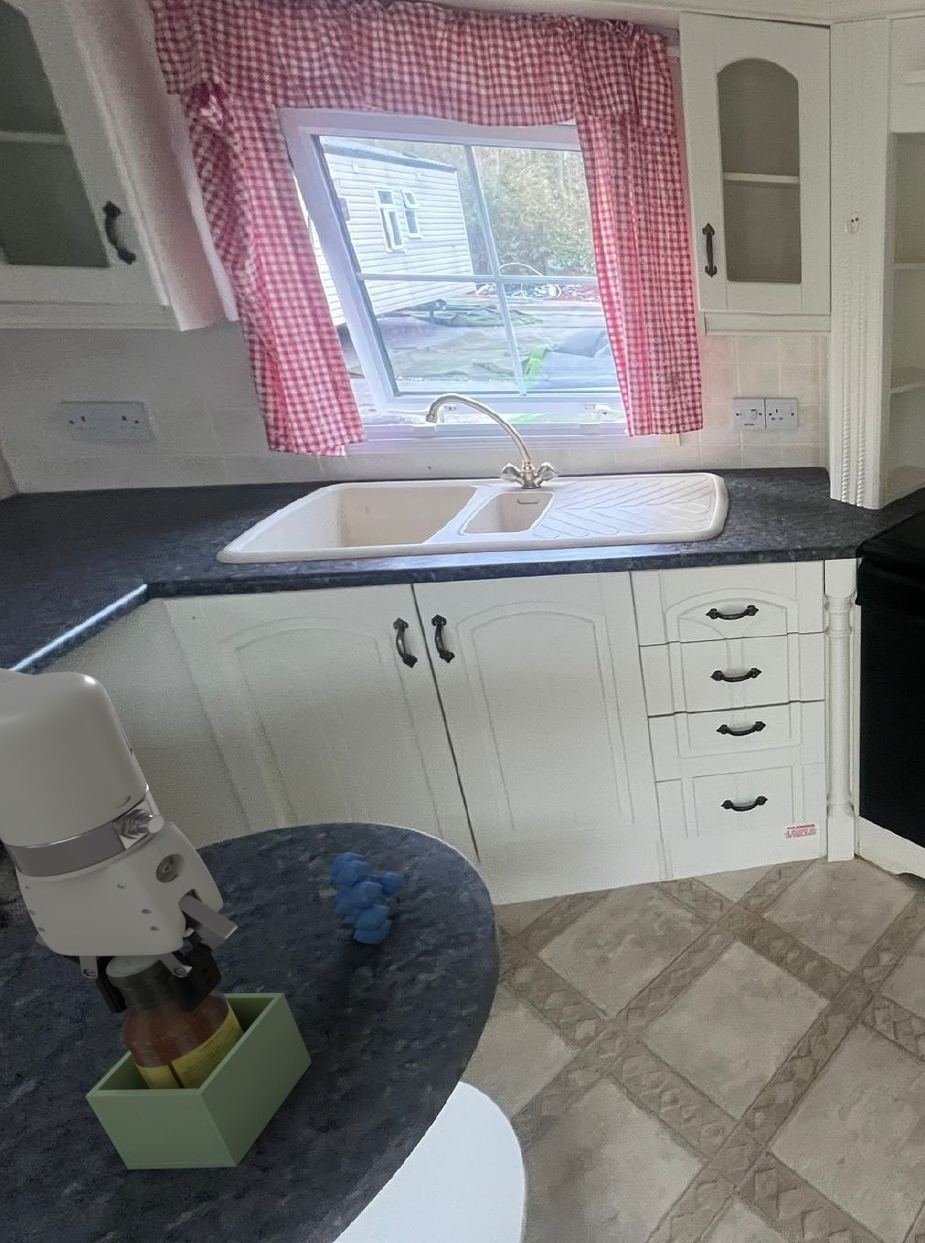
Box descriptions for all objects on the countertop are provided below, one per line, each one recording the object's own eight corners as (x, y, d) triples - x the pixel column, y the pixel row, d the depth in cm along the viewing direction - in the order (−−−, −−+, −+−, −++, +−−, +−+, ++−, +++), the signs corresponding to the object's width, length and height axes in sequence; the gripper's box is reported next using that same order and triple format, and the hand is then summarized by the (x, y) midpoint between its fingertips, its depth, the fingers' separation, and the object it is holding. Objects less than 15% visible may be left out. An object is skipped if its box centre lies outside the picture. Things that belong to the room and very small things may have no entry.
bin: (127, 1169, 65) (84, 1096, 61) (216, 1063, 73) (182, 993, 69) (236, 1167, 65) (200, 1094, 62) (312, 1062, 74) (283, 992, 70)
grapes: (434, 941, 86) (411, 861, 82) (364, 981, 82) (336, 899, 77) (397, 888, 93) (374, 812, 89) (331, 922, 88) (303, 843, 84)
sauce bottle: (276, 1060, 73) (215, 909, 65) (252, 1126, 68) (183, 970, 60) (188, 1086, 70) (114, 932, 63) (156, 1156, 65) (72, 997, 58)
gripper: (244, 795, 61) (306, 956, 67) (22, 795, 60) (107, 958, 66) (159, 867, 54) (237, 1038, 60) (-94, 868, 53) (14, 1042, 60)
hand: (168, 995), depth 63 cm, fingers open, 4 cm apart
